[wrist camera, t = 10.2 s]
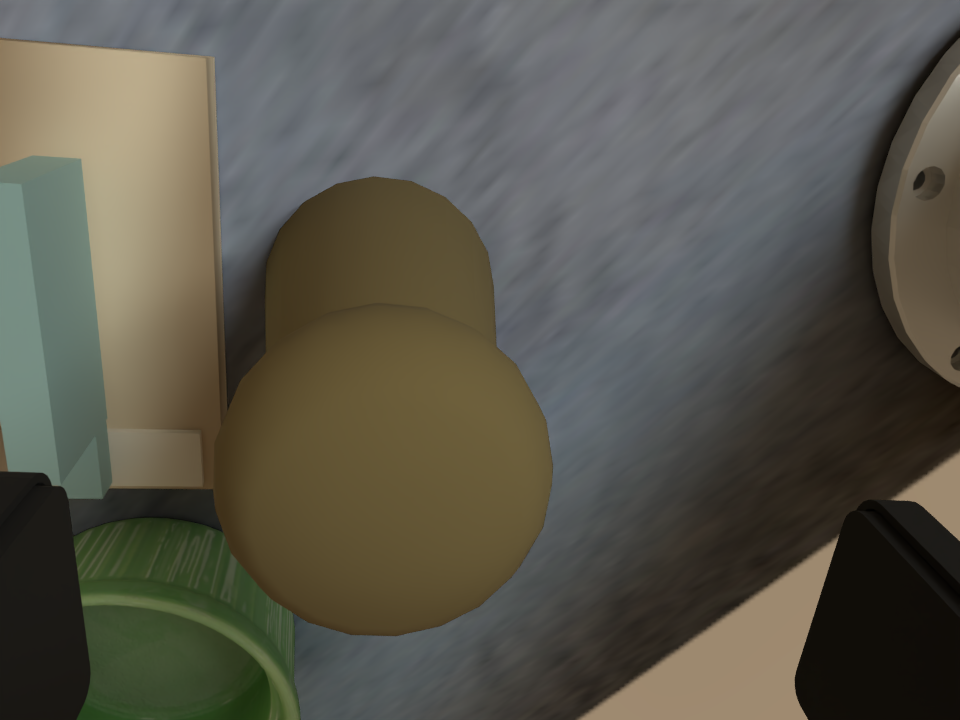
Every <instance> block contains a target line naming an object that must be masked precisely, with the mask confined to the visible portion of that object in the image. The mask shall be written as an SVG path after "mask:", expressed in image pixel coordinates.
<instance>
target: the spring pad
mask: <svg viewBox="0 0 960 720" xmlns="http://www.w3.org/2000/svg"><path fill="white" fill-rule="evenodd" d="M106 419H107V409H106V399H105V389H104V380H103V370H102V360H101V350H100V340H99V330H98V320H97V310H96V301H95V291H94V281H93V271H92V261H91V251H90V241H89V231H88V222H87V212H86V202H85V192H84V182H83V172H82V162H81V159H78V158H63V157H49V156H34V155H32V156H29V157H27V158H24V159H21V160H18V161H15V162H12V163H10V164H7V165H4V166H1V167H0V423H1V429H2V435H3V442H4V448H5V454H6V460H7V467H8V471H9V472H39V473H44V474H46V475H48V477H49V479H50V481H51V483H52V485H58V486H61V487H63V488H64V489H65V491H66V493H67V497H68V499H103V498H104V496H105V494H106V492H107V491H108V489H109V487H110V486H111V484H112V472H111V462H110V453H109V443H108V433H107V423H106Z"/></svg>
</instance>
